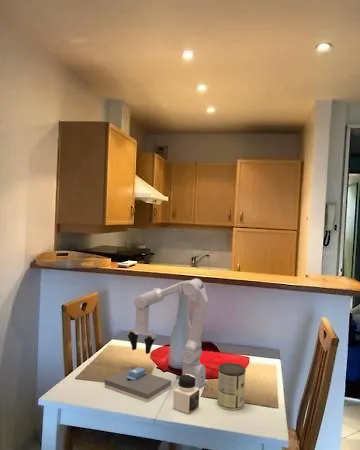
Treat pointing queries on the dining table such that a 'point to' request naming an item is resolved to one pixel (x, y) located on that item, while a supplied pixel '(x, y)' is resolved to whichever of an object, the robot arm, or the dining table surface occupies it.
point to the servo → (136, 374)
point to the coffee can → (231, 386)
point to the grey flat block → (138, 385)
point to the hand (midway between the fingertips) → (140, 351)
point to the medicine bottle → (186, 394)
